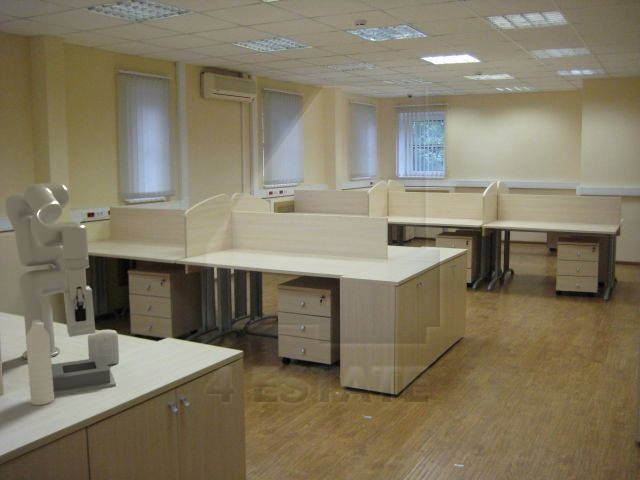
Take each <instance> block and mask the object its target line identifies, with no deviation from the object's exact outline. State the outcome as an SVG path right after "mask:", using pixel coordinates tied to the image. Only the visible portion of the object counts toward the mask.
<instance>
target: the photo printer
mask: <svg viewBox="0 0 640 480" xmlns="http://www.w3.org/2000/svg"><path fill="white" fill-rule="evenodd" d="M87 349H88V359H94V358H101V357H105V360H106V362H107V365H108V366H110V365H116V364H119V363H120V353H119V352H120V351H119V335H118V332H117V331H116V330H113V329H101V330H97V331H96V330H95V333H92V334H88V336H87Z"/></svg>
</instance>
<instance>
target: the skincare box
mask: <svg viewBox="0 0 640 480" xmlns="http://www.w3.org/2000/svg"><path fill="white" fill-rule="evenodd" d="M63 291H64V292H63V301H64V308H65V309H64V310H65V319H66V329H67V333H68V336H69V338H70V337H71V338H72V337H77V336H78V337H79V336H84V335H85V336H86V335H89V334H92V333H95V332H96V326H95V325H96V324H95V323H96V322H95V314H94V311H95V310H94V301H93V289H92V288H91V287H90V285H86V299H85V298H84V299H85V300H84V303H85V308H86V321H79V322H76V321H75V309H76V308H75V299H74V300H72V301H71V300H70V293H69V290H68V289H63ZM84 297H85V296H84ZM76 299H78V298H76ZM82 299H83V296H82Z"/></svg>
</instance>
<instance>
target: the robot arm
mask: <svg viewBox="0 0 640 480" xmlns="http://www.w3.org/2000/svg"><path fill="white" fill-rule="evenodd" d="M69 202H70V193H69V190H68V188H67V186H65V185H64V184H63V183H61V182H49V183H48V182H47V183H46V182H45V183H34V184H31V185H28V186H27V187H26V188H25V190H24V191H23V192H17V193H13V194H10V195H9V196H7V198H6V199H5V203H4V204H5V212H6V216H7V218H8V220H9V223H10V225H11V226H12V228H13V232H14V235H15V236H14V237H15V242H16V249H17V253H18V254H17V255H18V259H19V262H20V264H21V266H22V267H25V268H35V267H43V266H51V267H52V268H42V269H35V270H28V271H25V272H23V273H22V274H21V275H20V276H19V277H18V288H19V292H20V295H21V300H22V307H23V316H24V317H23V319H24V320H23V321H24V328H25V329H24V330H25V337H26V336H27V334H28V332H29V330H30V329H31V327H32V321H33V320H41V322H43V323H44V326H43V327H44V328H45V329H46V331H47V332H48V333H49V336H50V351H51V358H52V357H54V356H58V354H60V352H61V351H60V348H59V347H57V346H56V345H55V344H56V343H55V332H54V319H53V309H52V308H53V307H52V305H51V304H50V302H49V301H48V300H47V299H46V298H45V296H49V295H54V294H61V293H64V291H63V289H68V290H69V293H70V300H71V301H72V300H74V299H75V308H76V309H75V321H76V322H79V321H86V308H85V303H84V300H85V299H86V286H87V276H86V275H87V274H86V273H87V272H86V269H89V268H90V262H89V261H90V260H89V247H88V246H89V245H88V244H89V243H88V230H87V229H88V228H87V227H86V226H85V225H84V224H80V223H79V222H78V221H62V222H60V221H58V220H59V219H60V218H61V216H62V214H63V209H64V208H65V207H67V205H68V204H69ZM30 216H32V217H30ZM56 221H58V222H56ZM82 296H83V299H82ZM84 296H85V297H84ZM76 298H78V299H76ZM84 298H85V299H84ZM22 357H23V359H26V360H28V358H27V357H28V356H27V350H25V351H23V352H22Z"/></svg>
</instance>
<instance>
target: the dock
mask: <svg viewBox="0 0 640 480" xmlns="http://www.w3.org/2000/svg"><path fill="white" fill-rule="evenodd" d="M51 367H52V375H53V379H52V380H53V388H54V390H53V392H54V397H55V396H60V395H66V394H73V393H80V392H85V391H86V392H87V391H91V390H92V391H93V390H99V389H105V388H106V389H107V388H110V387H111V388H112V387H116V386H117V383H116V381H115V378H114V375H113V372H112V370H111V368H110V366H109V365H107V362H106V360H105V357H101V358H94V359H89V358H87V359H82V360H81V359H80V360H72V361H64V362H59V363H52V366H51Z"/></svg>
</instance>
